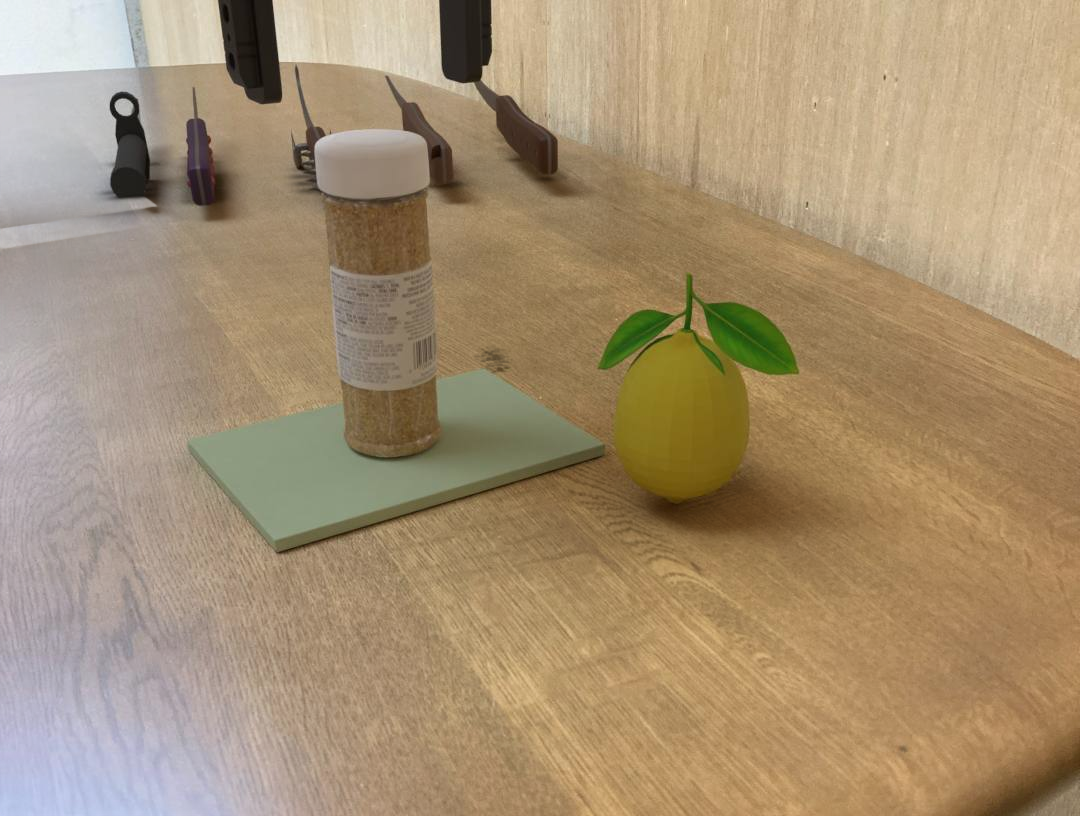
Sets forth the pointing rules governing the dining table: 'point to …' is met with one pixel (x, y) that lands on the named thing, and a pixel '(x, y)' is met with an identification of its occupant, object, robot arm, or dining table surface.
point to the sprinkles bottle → (381, 287)
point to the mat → (385, 461)
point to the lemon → (690, 394)
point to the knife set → (136, 161)
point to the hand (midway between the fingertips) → (366, 90)
